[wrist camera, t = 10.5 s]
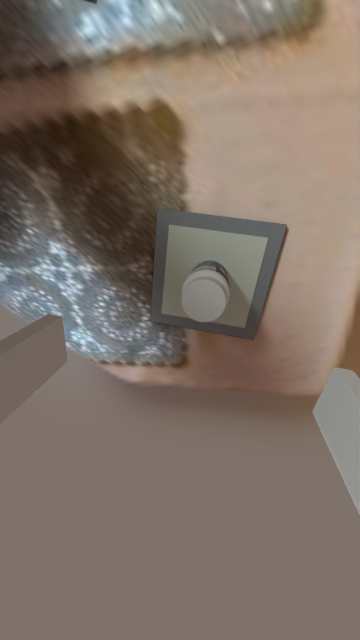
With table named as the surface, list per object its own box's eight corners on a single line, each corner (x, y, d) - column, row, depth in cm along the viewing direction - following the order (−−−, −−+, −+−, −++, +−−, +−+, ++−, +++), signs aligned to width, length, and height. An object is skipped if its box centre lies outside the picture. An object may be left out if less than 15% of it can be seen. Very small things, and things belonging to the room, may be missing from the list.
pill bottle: (230, 295, 28) (233, 324, 20) (192, 300, 29) (181, 329, 21) (226, 256, 26) (228, 271, 18) (186, 262, 27) (172, 279, 20)
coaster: (151, 319, 32) (149, 321, 31) (158, 208, 26) (157, 208, 25) (252, 337, 30) (253, 340, 30) (285, 224, 24) (287, 224, 24)
